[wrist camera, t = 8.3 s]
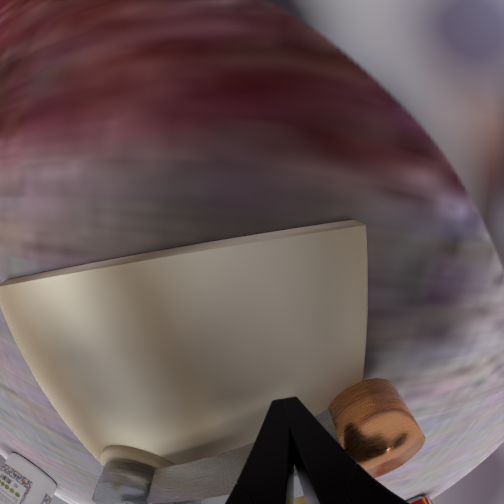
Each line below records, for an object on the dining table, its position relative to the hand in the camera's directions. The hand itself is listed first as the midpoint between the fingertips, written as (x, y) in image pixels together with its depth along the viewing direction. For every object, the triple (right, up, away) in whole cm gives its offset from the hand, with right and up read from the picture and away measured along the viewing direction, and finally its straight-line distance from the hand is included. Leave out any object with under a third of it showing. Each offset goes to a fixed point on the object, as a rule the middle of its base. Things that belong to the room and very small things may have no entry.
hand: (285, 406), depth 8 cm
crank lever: (-2, -5, +2) cm, 5 cm away
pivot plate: (-4, -2, +3) cm, 6 cm away
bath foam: (-27, -21, +8) cm, 35 cm away
